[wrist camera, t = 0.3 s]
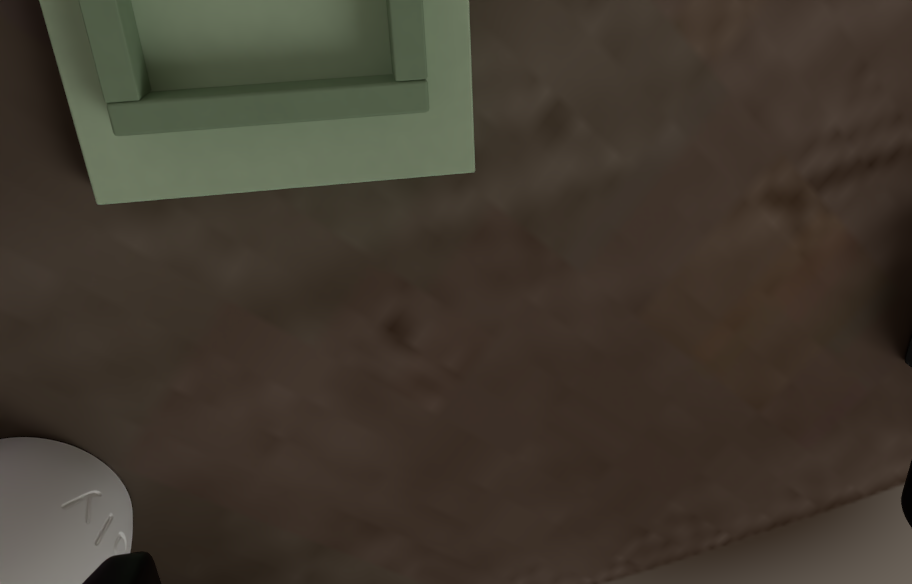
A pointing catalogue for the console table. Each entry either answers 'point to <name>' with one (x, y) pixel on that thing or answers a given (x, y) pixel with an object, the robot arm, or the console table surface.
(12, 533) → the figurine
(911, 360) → the black rectangular block
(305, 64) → the base pad
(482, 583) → the console table surface
